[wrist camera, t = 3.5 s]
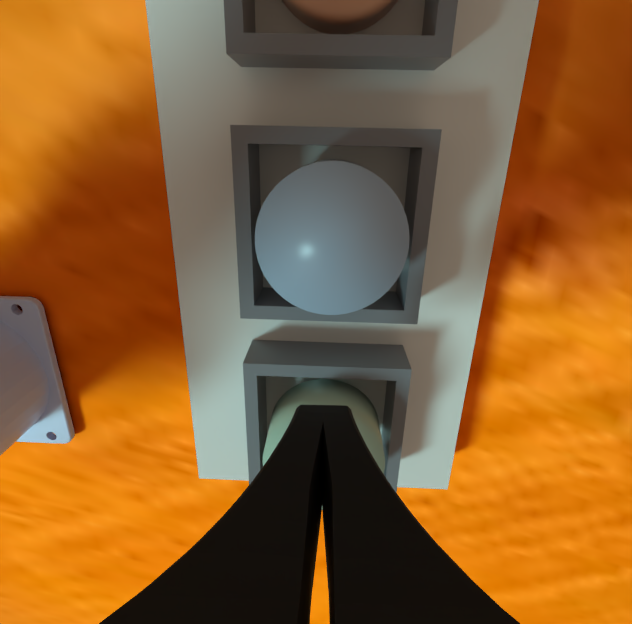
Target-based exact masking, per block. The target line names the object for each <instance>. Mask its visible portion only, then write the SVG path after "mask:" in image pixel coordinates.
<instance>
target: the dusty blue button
mask: <svg viewBox="0 0 632 624" xmlns="http://www.w3.org/2000/svg"><path fill="white" fill-rule="evenodd" d="M408 249H409V225H408V221H407V217H406V214H405V211H404V208H403V206H402V204H401V202H400V200H399V198H398V197H397V195H396V194H395V193H394V191H393V190H392V189H391V187H390V186H389V185H388V184H387V183H386V182H385V181H384V180H382V179H381V178H380V177H378V176H377V175H376V174H374V173H372V172H371V171H369V170H367V169H366V168H364V167H362V166H360V165H358V164H355V163H352V162H349V161H344V160H336V159H331V160H321V161H316V162H313V163H310V164H307V165H305V166H303V167H301V168H299V169H297V170H296V171H294V172H292V173H291V174H290V175H288V176H287V177H285V178H284V179H283V180H282V181H280V182H279V183H278V184H277V185H276V186H275V187H274V189H273V190H272V191H271V192H270V193H269V195H268V197H267V198H266V200H265V201H264V203H263V205H262V207H261V210H260V212H259V215H258V219H257V222H256V228H255V250H256V255H257V259H258V262H259V265H260V268H261V270H262V272H263V274H264V276H265V278H266V279H267V281H268V282H269V284H270V285H271V287H272V288H273V289H274V290H275V291H276V292H277V293H278V294H279V295H280V296H281V297H283V298H284V299H285V300H286V301H288V302H289V303H291V304H292V305H294V306H296V307H298V308H300V309H303V310H306V311H309V312H312V313H317V314H323V315H340V314H347V313H351V312H355V311H358V310H360V309H363V308H365V307H367V306H369V305H371V304H372V303H374V302H375V301H377V300H378V299H379V298H381V297H382V296H383V295H384V294H385V293H386V292H387V291H388V290H389V289H390V288H391V287H392V286H393V284H394V283H395V282H396V280H397V279H398V277H399V275H400V274H401V271H402V269H403V267H404V265H405V262H406V258H407V255H408Z"/></svg>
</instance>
